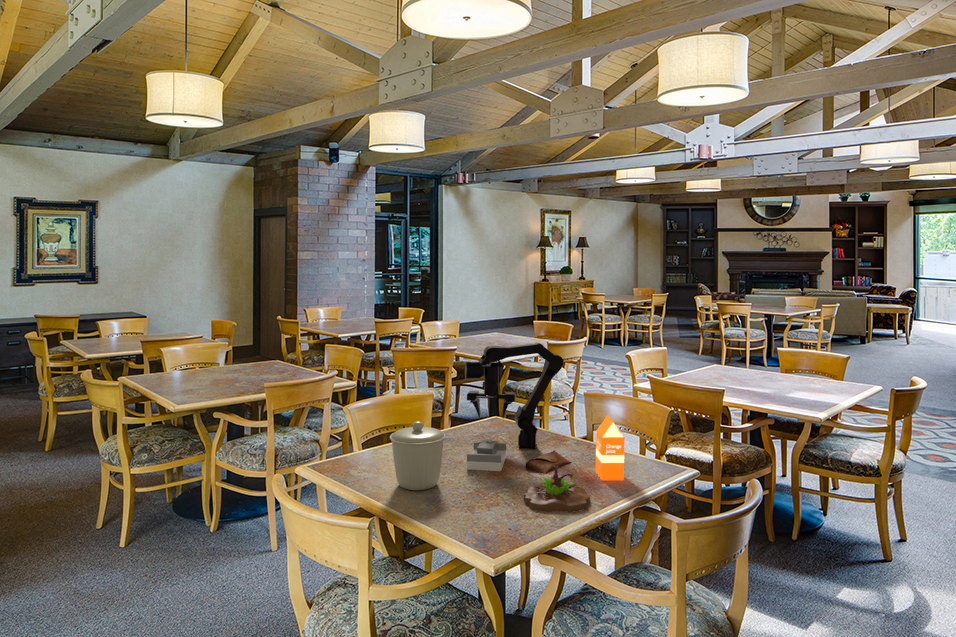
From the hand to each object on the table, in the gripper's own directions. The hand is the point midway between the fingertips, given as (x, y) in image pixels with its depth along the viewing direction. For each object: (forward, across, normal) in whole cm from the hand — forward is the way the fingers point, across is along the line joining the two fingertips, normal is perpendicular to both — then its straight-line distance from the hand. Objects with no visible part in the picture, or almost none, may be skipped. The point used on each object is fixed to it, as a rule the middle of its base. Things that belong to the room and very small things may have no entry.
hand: (491, 418), depth 246 cm
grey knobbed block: (+9, -1, +19) cm, 21 cm away
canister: (+12, +18, +45) cm, 50 cm away
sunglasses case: (+13, -23, +18) cm, 32 cm away
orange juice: (+12, -44, +26) cm, 53 cm away
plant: (+13, -27, +50) cm, 58 cm away
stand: (+12, -1, +19) cm, 22 cm away
